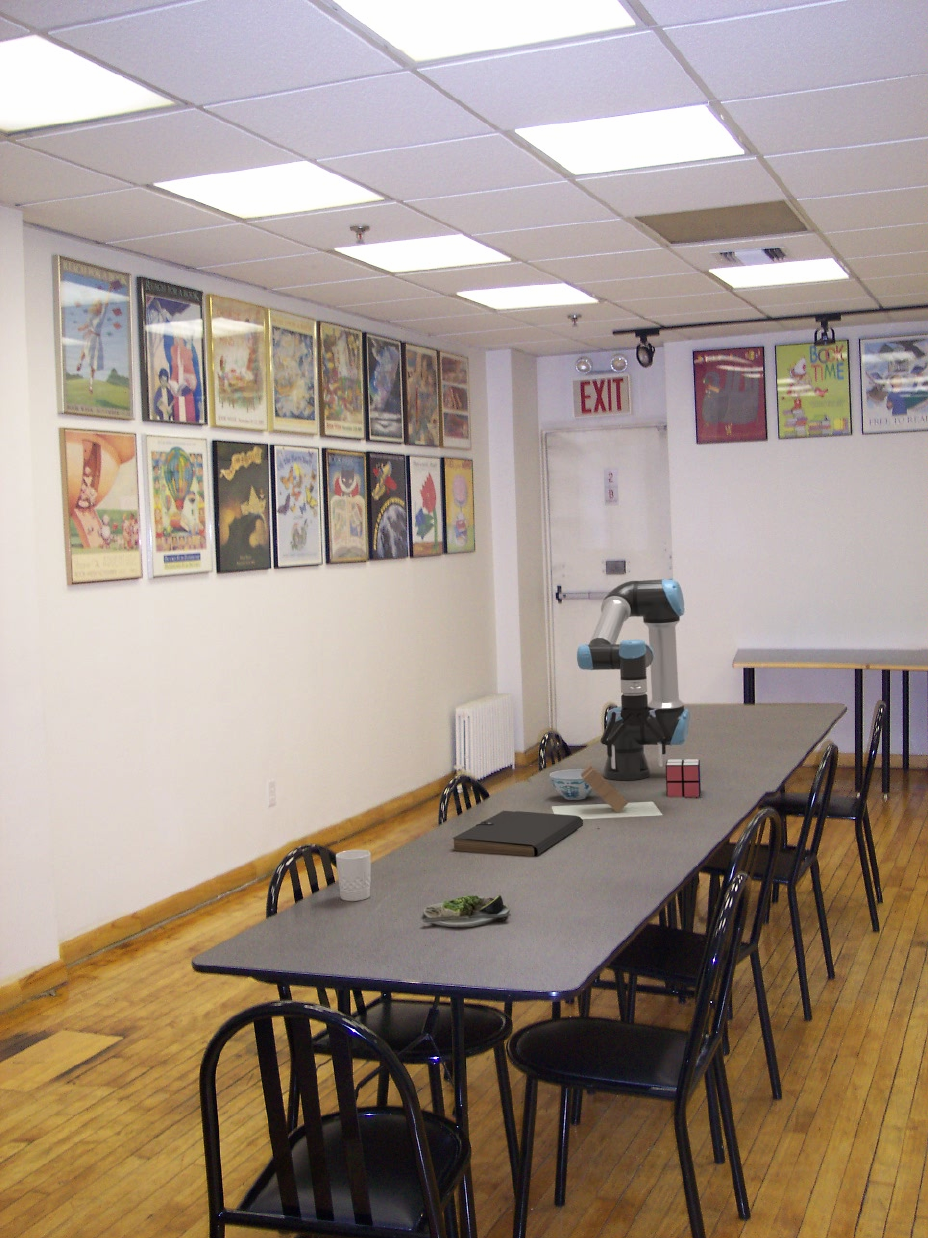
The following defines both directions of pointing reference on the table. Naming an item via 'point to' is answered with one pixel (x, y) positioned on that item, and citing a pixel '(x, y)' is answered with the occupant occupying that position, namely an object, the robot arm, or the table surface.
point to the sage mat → (608, 810)
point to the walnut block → (604, 788)
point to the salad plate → (467, 911)
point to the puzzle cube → (683, 778)
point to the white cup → (354, 874)
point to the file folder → (517, 833)
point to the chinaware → (570, 784)
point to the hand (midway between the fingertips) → (637, 767)
